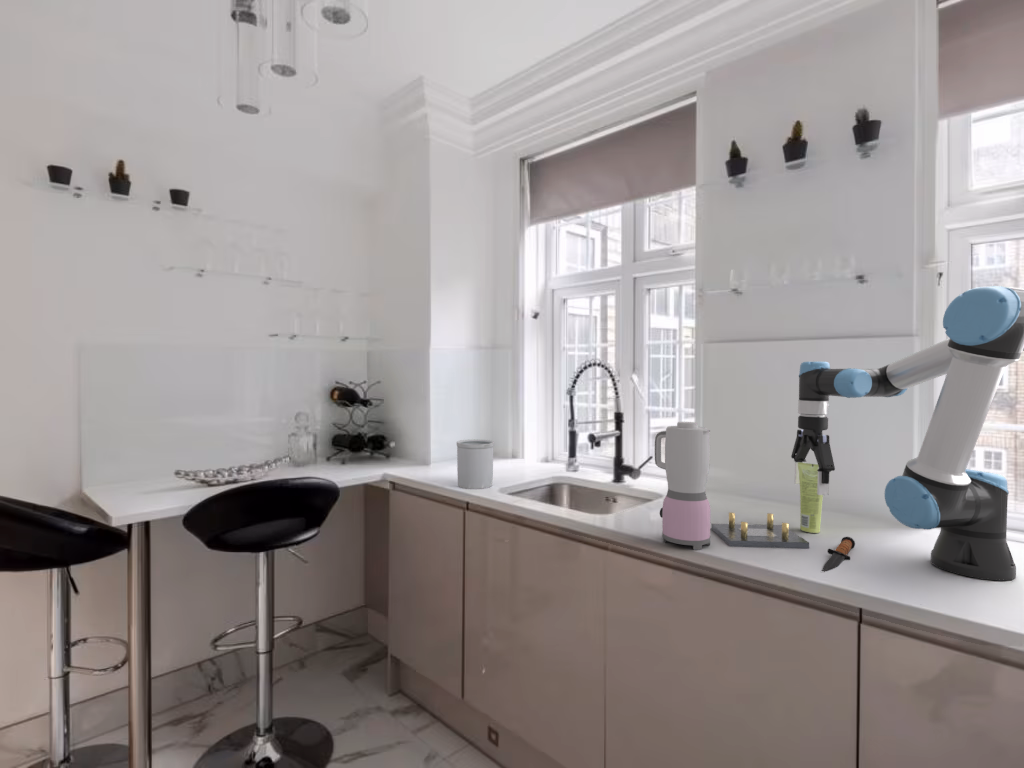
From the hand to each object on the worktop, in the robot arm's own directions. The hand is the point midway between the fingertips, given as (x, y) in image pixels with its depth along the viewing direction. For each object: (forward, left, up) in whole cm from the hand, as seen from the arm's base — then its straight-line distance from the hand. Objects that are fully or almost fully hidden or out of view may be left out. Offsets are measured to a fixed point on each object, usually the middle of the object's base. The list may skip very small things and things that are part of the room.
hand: (810, 489), depth 155 cm
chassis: (-8, +18, -12) cm, 23 cm away
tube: (0, 0, -12) cm, 12 cm away
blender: (-13, +40, -12) cm, 44 cm away
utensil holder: (+53, +104, -12) cm, 117 cm away
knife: (-24, +5, -13) cm, 28 cm away
